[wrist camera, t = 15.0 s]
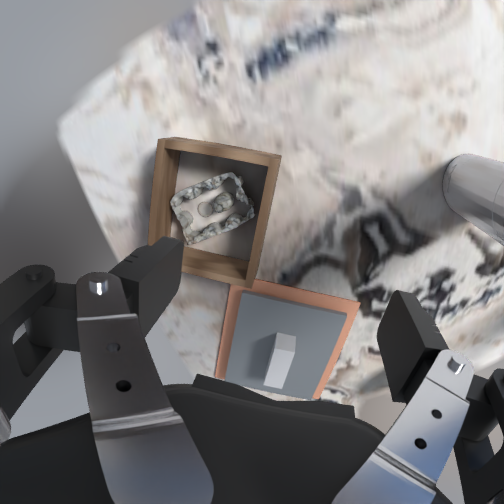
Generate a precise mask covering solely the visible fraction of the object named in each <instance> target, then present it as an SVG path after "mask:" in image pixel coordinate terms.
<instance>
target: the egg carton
mask: <svg viewBox="0 0 504 504" xmlns="http://www.w3.org/2000/svg"><path fill="white" fill-rule="evenodd" d="M227 177H229V178H231V179H234V180H235V184H236V185H237V186H238V187H237V189H236V191H237V192H236V198H237V200H240V201H241V202H246V204H247V205H251V208H250V210H249V211H248V213H247V217H244V218H243V217H242V216H241V215H240V214H237V213H236V214H232V215H231V216H230V217H229V218H228V219H227V220H226V223H225V226H222V225H221V224H219V223H216V222H214V223H211V224H210V225H209V226H208V227H207V228H205V229H204V230H203V233H201V232H199V231H192V229H191V227H190V224H191V223H192V222H193V215H192V214H191V213H190V212H189V211H182V210H181V207H180V204H181V203H182V201H183V196H184V197H186V198H187V199H194V198H196V197H197V196H199V195H200V194H201V193H202V190H203V187H206V188H207V189H209V190H211V189H217V188H218V187H219V186H220V185H221V184H222V183H223V181H224V180H225V179H226V178H227ZM243 183H244V181H243V179H242V177H241V176H240V177H236V176H235V175H234V173H232V172H228V173H225V174H222V175H218V176H216V177H214V178H210V179H208V180H207V181H203V182H201V183H198V184H196V185H193V186H191V187H188V188H186V189H184V190H182V191H180V192H178V193H177V194H175V195H174V196H173V198H172V200H171V201H170V203H171V205H172V209H173V210H174V212H175V214H176V216H177V219H178V220H179V221H180V223H181V225H182V227H183V228H182V230H183V234H184V236H185V238H186V240H187V245H191V244H194V243H197V242H200V241H202V240H205V239H207V238H209V237H212V236H215V235H219V234H221V233H224V232H227V231H229V230H232V229H234V228H236V227H238V226H240V225H241V224H243V223H244V222H246V221H248V220H249V219H251V218H253V217H255V216H256V215H255V214H254V209H253V205H254V203H253V201H252V199H251V198H250V199H248V198H247V196H246V195H245V193H244V190H243V189H242V187H241V185H242V184H243ZM202 185H203V186H202ZM233 204H234V197H233V195H232V194H230V193H228V192H223V193H221V194H220V195H219V196H217V198H216V199H215V200H214V208H215V211H216V212H218V213H221V212H223V211H227V210H229V209H230V207H231V206H232V205H233ZM198 212H199V214H200V215H202V216H204V217H208V216H210V215H211V214H212V213H213V207H212V205H211V204H210V203H208V202H202V203H200V204H199V206H198Z"/></svg>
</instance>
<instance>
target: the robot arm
mask: <svg viewBox="0 0 504 504" xmlns="http://www.w3.org/2000/svg"><path fill="white" fill-rule="evenodd" d="M443 192H444V197H445V199H446V202H447V203H448V205H449V207H450V208H451V209H452V210H453V211H455V212H456V213H458V214H459V215H461V216H462V217H464V218H465V219H466V220H468V221H469V222H471V223H472V224H474V225H475V226H477V227H478V228H479V229H481V230H482V231H484V232H485V233H487V234H488V235H489V236H491V237H492V238H494V239H495V240H496V241H498V242H499V243H500V244H502V245H503V246H504V162H500V161H497V160H493V159H489V158H485V157H481V156H477V155H472V154H463V155H460V156H458V157H457V158H455V159H454V160H453V161H452V162H451V163H450V164H449V166H448V167H447V169H446V172H445V174H444V179H443ZM183 250H184V242H183V240H179V239H175V238H171V237H167V236H163V237H161V238H160V239H159V240H158V241H157V242H156V243H154V244H153V245H152V246H150V245H146V246H144V247H141V248H138V249H136V250H135V251H133V252H132V253H131V254H130V256H127V257H126V258H125V259H124V261H123V260H122V261H121V262H120V263H119V264H118V265H116V266H115V267H114V268H113V269H112V270H111V271H109V272H108V273H107V272H91V273H87V274H85V275H83V276H81V277H80V278H79V279H78V280H77V282H76V284H66V283H58V282H56V281H55V273H54V270H53V269H52V268H50V267H48V266H45V265H30V266H26V267H24V268H22V269H20V270H18V271H17V272H16V273H15V274H13V275H12V276H10V277H9V278H8V279H6V280H5V281H3V282H2V283H1V284H0V504H452V502H450V500H449V499H448V498H447V497H446V496H445V495H444V494H442V492H441V491H440V490H439V489H438V488H437V487H436V483H437V480H438V478H439V476H440V474H441V472H442V470H443V468H444V466H445V464H446V462H447V460H448V457H449V455H450V453H451V451H452V448H454V452H455V457H456V461H457V466H458V470H459V475H460V480H461V485H462V490H463V496H464V502H465V504H504V440H503V444H502V447H501V449H500V450H499V451H498V452H497V453H496V454H495V455H494V452H493V449H492V446H491V443H490V440H489V437H488V435H489V433H490V432H491V431H492V430H493V429H494V428H495V427H496V425H497V424H498V423H499V425H500V427H501V430H502V433H503V436H504V369H496V370H495V371H494V372H493V374H492V375H491V376H490V378H489V379H485V378H483V377H479V376H477V375H474V367H473V365H472V363H471V362H470V361H469V359H467V358H466V357H465V356H464V355H462V354H461V353H459V352H456V351H454V350H449V348H448V346H447V344H446V342H445V340H444V338H443V337H442V335H441V333H440V331H439V329H438V327H437V326H436V324H435V322H434V320H433V318H432V317H431V316H430V315H429V314H428V313H427V312H426V311H425V310H424V309H423V308H422V306H421V305H420V303H419V301H418V299H417V297H416V296H415V294H412V293H408V292H403V291H399V290H396V291H395V292H394V293H393V294H392V296H391V299H390V301H389V304H388V306H387V308H386V311H385V313H384V315H383V318H382V320H381V322H380V324H379V327H378V331H377V342H378V345H379V349H380V352H381V356H382V360H383V364H384V368H385V372H386V376H387V380H388V384H389V388H390V392H391V396H392V400H393V402H402V403H406V407H405V408H404V409H403V411H402V412H401V414H400V415H399V416H398V418H397V419H396V421H395V422H394V424H393V425H392V426H391V428H390V429H389V430H388V432H387V433H386V434H384V433H382V432H381V431H380V430H378V429H377V428H375V427H374V426H372V425H370V424H368V423H367V422H365V421H362V420H360V419H357V418H355V412H354V406H350V405H343V404H336V403H329V402H323V401H276V400H272V399H270V398H267V397H265V396H263V395H260V394H258V393H256V392H253V391H251V390H249V389H246V388H244V387H242V386H240V385H237V384H234V383H230V382H226V381H222V380H219V379H215V378H211V377H207V376H204V375H200V374H197V375H196V377H195V380H194V382H193V384H171V385H164V386H163V384H162V382H161V380H160V377H159V374H158V372H157V369H156V367H155V364H154V362H153V359H152V357H151V354H150V351H149V349H148V346H147V343H146V340H145V337H146V335H147V334H148V332H149V331H150V330H151V328H152V327H153V325H154V324H155V323H156V321H157V320H158V318H159V317H160V316H161V314H162V313H163V311H164V310H165V309H166V307H167V306H168V304H169V303H170V302H171V300H172V299H173V297H174V296H175V295H176V293H177V291H178V288H179V285H180V280H181V270H182V260H183ZM22 323H24V324H25V328H26V332H25V333H24V334H23V335H22V336H21V337H20V338H19V339H18V340H17V341H16V342H15V343H14V344H13V343H12V341H13V335H14V333H15V331H16V330H17V329H18V327H20V326H21V325H22ZM63 350H69V351H77V352H80V354H81V362H82V369H83V376H84V383H85V389H86V394H87V400H88V406H89V411H90V412H89V413H87V414H84V415H81V416H78V417H76V418H73V419H70V420H67V421H64V422H61V423H59V424H55V425H52V426H49V427H46V428H43V429H40V430H37V431H34V432H31V433H27V434H24V435H21V436H17V437H14V438H11V439H9V437H10V433H11V424H10V419H11V418H12V416H13V415H14V414H15V412H16V411H17V410H18V408H19V407H20V406H21V404H22V403H23V401H24V400H25V399H26V397H27V396H28V395H29V393H30V392H31V391H32V389H33V388H34V387H35V386H36V384H37V383H38V382H39V380H40V379H41V378H42V376H43V375H44V374H45V372H46V371H47V370H48V369H49V367H50V366H51V365H52V364H53V362H54V361H55V360H56V359H57V358H58V356H59V355H60V354H61V353H62V351H63ZM8 439H9V440H8Z"/></svg>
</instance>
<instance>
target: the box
mask: <svg viewBox="0 0 504 504" xmlns="http://www.w3.org/2000/svg"><path fill="white" fill-rule="evenodd" d="M180 150H182V151H188V152H194V153H200V154H206V155H212V156H218V157H223V158H229V159H234V160H239V161H245V162H250V163H255V164H260V165H264V166H268V171H267V176H266V181H265V186H264V191H263V196H262V201H261V206H260V211H259V216H258V221H257V226H256V231H255V236H254V241H253V246H252V251H251V256H250V261H249V262H248V261H244V260H240V259H236V258H231V257H227V256H223V255H219V254H214V253H210V252H206V251H202V250H197V249H193V248H189V247H185V246H184V250H183V260H182V270H181V272H185V273H189V274H193V275H197V276H201V277H205V278H209V279H213V280H217V281H221V282H225V283H229V284H233V285H237V286H241V287H246V288H250V289H252V286H253V283H254V280H255V277H256V274H257V270H258V266H259V261H260V257H261V252H262V247H263V243H264V238H265V233H266V229H267V224H268V219H269V214H270V210H271V205H272V200H273V195H274V191H275V186H276V181H277V176H278V171H279V167H280V162H281V157H282V156H281V155H276V154H272V153H267V152H262V151H257V150H252V149H246V148H241V147H236V146H230V145H224V144H218V143H212V142H206V141H200V140H193V139H187V138H180V137H171V138H162V139H158V143H157V151H156V159H155V167H154V176H153V185H152V196H151V207H150V219H149V232H148V245H150V246H152V245H153V244H154V243H156V242H157V241H158V240H159V239H160V238H161V237H163V236H167V237H170V232H171V222H172V213H173V209H172V205H171V203H170V201H171V200H172V198H173V196H174V195H175V187H176V179H177V171H178V164H179V157H180Z"/></svg>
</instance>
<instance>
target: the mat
mask: <svg viewBox="0 0 504 504" xmlns="http://www.w3.org/2000/svg"><path fill="white" fill-rule="evenodd" d="M243 289H244V290H248V291H252V292H256V293H261V294H265V295H269V296H273V297H278V298H282V299H286V300H291V301H295V302H300V303H304V304H309V305H313V306H318V307H322V308H327V309H332V310H336V311H341V312H346V313H347V318H346V321H345V323H344V326H343V328H342V331H341V333H340V336H339V338H338V340H337V343H336V345H335V348H334V350H333V352H332V355H331V357H330V359H329V362H328V364H327V366H326V368H325V371H324V373H323V375H322V377H321V380H320V382H319V384H318V386H317V388H316V390H315V393H314V395H313V397H312V398H314V399H319V397H320V395H321V393H322V391H323V389H324V387H325V385H326V383H327V381H328V379H329V376H330V374H331V372H332V370H333V368H334V366H335V363H336V361H337V359H338V357H339V354H340V352H341V350H342V348H343V345H344V343H345V341H346V338H347V336H348V333H349V331H350V329H351V326H352V324H353V321H354V319H355V316H356V314H357V311H358V309H359V306H360V304H361V303H360V302H357V301H352V300H348V299H343V298H338V297H334V296H329V295H325V294H320V293H316V292H311V291H307V290H302V289H298V288H294V287H289V286H285V285H280V284H276V283H272V282H267V281H263V280H259V279H255V280H254V283H253V286H252V289H250V288H246V287H241V286H237V285H233V284H231V286H230V292H229V297H228V303H227V309H226V315H225V320H224V326H223V332H222V338H221V344H220V350H219V356H218V361H217V367H216V373H215V377H217V378H221V379H225V376H226V371H227V365H228V360H229V355H230V350H231V345H232V340H233V335H234V330H235V325H236V320H237V315H238V310H239V305H240V300H241V295H242V291H243Z"/></svg>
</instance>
